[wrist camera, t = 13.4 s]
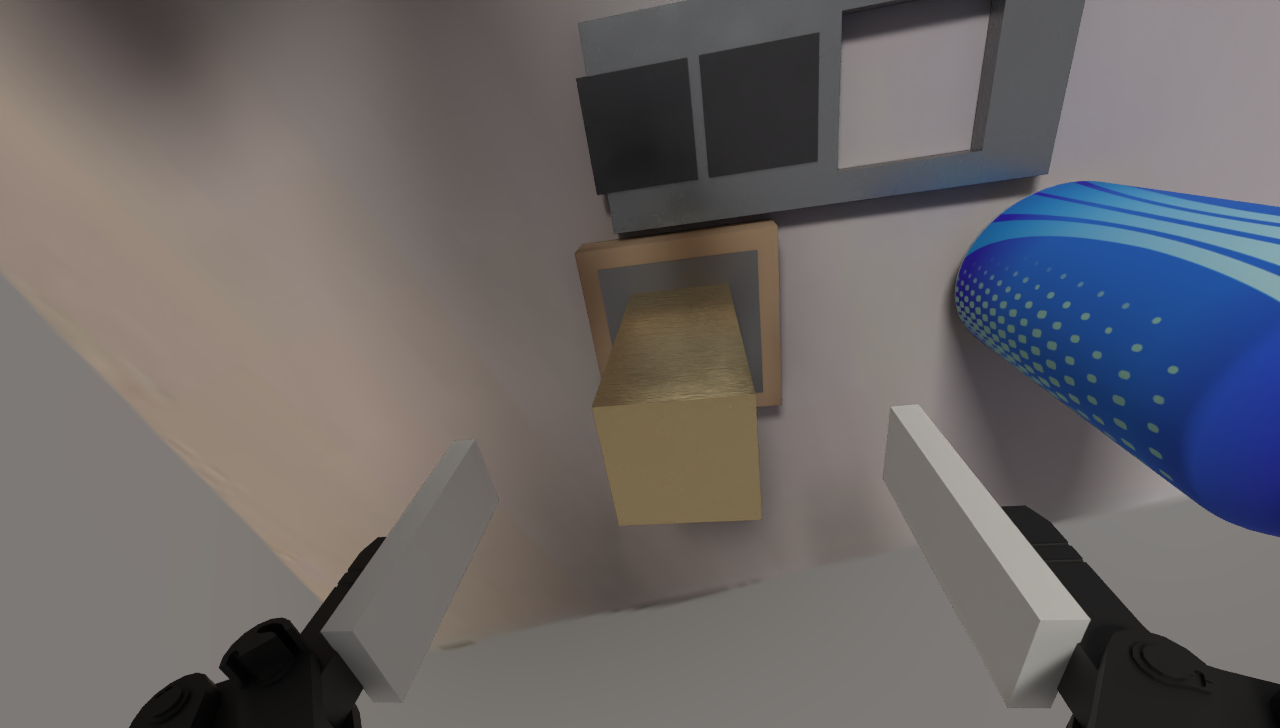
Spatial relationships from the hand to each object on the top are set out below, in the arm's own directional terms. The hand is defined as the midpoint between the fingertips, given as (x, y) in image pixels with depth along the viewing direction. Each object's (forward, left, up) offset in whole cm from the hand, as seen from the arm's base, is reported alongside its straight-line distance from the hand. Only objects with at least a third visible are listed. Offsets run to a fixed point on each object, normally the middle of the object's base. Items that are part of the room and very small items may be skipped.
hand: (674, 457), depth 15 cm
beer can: (+18, 0, -13) cm, 22 cm away
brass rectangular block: (0, 0, -11) cm, 11 cm away
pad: (0, 0, -13) cm, 13 cm away
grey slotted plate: (+7, +10, -13) cm, 18 cm away
